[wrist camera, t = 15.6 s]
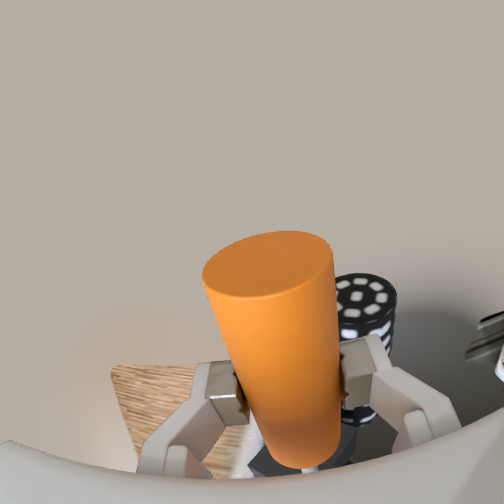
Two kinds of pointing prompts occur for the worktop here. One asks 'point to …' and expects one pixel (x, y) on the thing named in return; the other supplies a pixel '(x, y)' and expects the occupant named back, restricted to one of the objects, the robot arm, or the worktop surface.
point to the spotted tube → (364, 323)
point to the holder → (270, 467)
